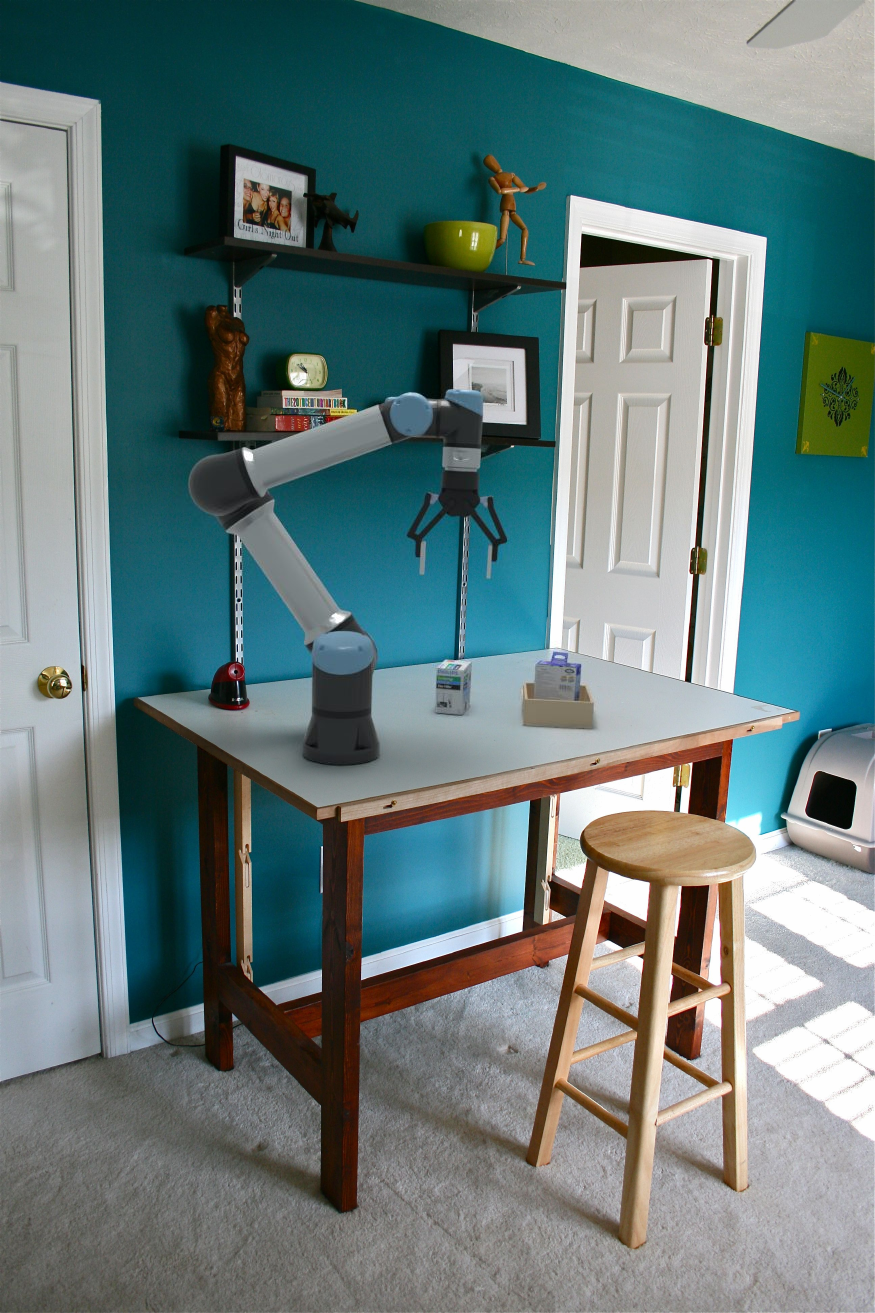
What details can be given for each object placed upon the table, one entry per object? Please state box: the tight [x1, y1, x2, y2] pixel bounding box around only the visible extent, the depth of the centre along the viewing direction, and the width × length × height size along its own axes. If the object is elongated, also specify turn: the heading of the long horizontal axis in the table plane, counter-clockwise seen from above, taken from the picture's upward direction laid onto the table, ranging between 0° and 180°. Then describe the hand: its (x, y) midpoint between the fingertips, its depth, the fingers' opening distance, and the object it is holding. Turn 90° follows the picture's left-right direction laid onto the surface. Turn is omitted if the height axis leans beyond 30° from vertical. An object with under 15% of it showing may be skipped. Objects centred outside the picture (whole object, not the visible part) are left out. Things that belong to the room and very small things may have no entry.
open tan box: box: [520, 681, 595, 730], centre depth 239 cm, size 15×39×6 cm, turn 176°
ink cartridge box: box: [533, 651, 582, 701], centre depth 227 cm, size 10×6×14 cm, turn 71°
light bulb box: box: [434, 659, 473, 716], centre depth 232 cm, size 11×7×11 cm, turn 168°
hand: (455, 575), depth 202 cm, fingers open, 13 cm apart
